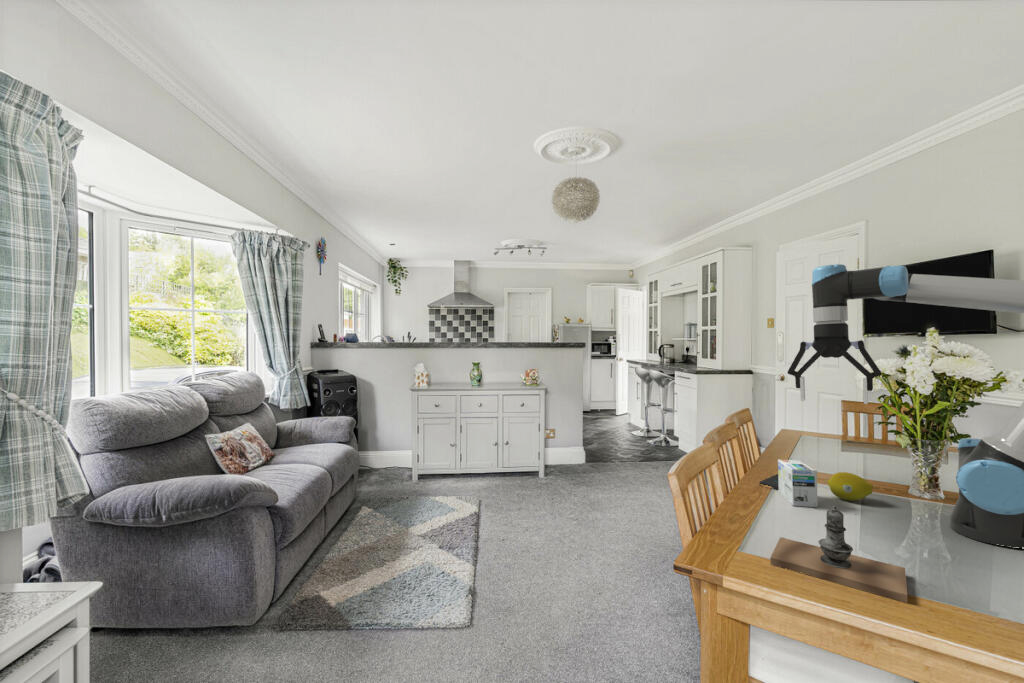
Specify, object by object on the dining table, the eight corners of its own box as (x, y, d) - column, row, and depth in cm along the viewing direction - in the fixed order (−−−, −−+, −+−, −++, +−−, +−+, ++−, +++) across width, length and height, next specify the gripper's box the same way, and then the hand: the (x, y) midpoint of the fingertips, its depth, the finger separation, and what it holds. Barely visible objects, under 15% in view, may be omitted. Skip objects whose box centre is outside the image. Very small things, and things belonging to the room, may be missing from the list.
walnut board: (905, 575, 89) (904, 567, 89) (907, 603, 80) (907, 595, 80) (780, 543, 103) (780, 537, 103) (770, 564, 94) (770, 557, 94)
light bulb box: (818, 507, 123) (818, 470, 123) (792, 506, 125) (791, 469, 125) (801, 494, 134) (800, 459, 134) (777, 493, 135) (776, 458, 135)
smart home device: (758, 481, 142) (785, 469, 154) (758, 486, 142) (785, 474, 154) (785, 488, 136) (812, 475, 147) (785, 493, 136) (812, 480, 147)
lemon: (822, 497, 131) (822, 471, 131) (833, 492, 135) (833, 466, 135) (866, 509, 122) (866, 480, 122) (877, 502, 126) (876, 475, 126)
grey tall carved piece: (819, 552, 96) (819, 498, 96) (853, 560, 92) (852, 504, 92) (817, 563, 91) (816, 506, 91) (852, 572, 87) (852, 513, 87)
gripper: (891, 320, 112) (894, 402, 111) (779, 325, 127) (781, 397, 127) (892, 320, 106) (895, 406, 106) (774, 325, 122) (777, 400, 122)
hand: (833, 401), depth 117 cm, fingers open, 13 cm apart
